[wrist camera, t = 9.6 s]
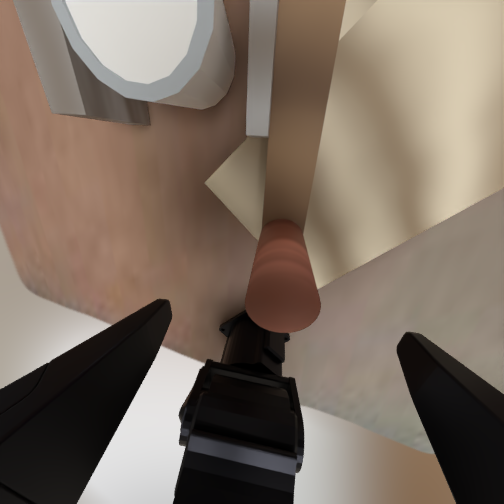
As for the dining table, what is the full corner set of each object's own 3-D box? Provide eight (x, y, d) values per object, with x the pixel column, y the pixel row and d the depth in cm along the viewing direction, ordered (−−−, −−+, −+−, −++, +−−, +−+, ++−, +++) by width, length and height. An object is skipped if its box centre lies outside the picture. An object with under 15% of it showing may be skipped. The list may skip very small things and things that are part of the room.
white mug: (126, 30, 13) (-3, -68, 7) (212, -49, 11) (133, -276, 5) (183, 136, 16) (122, 130, 10) (261, 88, 14) (246, 42, 8)
